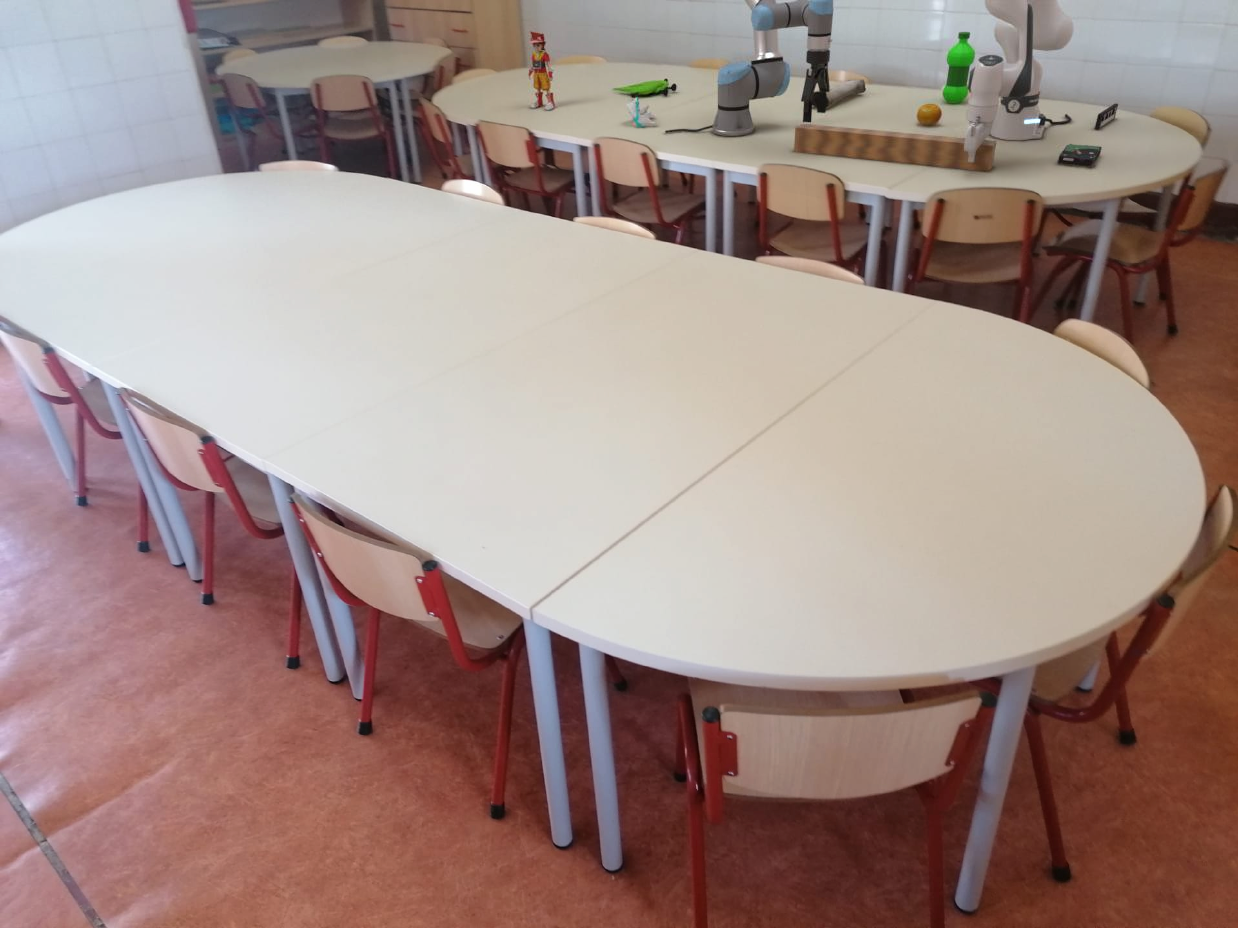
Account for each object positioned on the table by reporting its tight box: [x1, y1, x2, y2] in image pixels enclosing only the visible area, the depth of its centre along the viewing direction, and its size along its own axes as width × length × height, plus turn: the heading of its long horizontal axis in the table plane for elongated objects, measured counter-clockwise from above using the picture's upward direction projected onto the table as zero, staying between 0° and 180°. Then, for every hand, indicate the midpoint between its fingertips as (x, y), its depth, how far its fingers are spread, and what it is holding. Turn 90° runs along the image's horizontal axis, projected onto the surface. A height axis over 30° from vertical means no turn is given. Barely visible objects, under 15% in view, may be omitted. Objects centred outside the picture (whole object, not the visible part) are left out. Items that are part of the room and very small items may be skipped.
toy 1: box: [527, 31, 556, 111], centre depth 374 cm, size 12×9×30 cm
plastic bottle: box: [942, 31, 976, 104], centre depth 348 cm, size 10×10×25 cm
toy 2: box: [612, 78, 677, 99], centre depth 396 cm, size 28×5×30 cm
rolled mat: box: [811, 78, 867, 110], centre depth 364 cm, size 30×9×10 cm
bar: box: [793, 123, 998, 172], centre depth 297 cm, size 65×6×8 cm, turn 59°
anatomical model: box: [625, 97, 657, 128], centre depth 351 cm, size 15×10×10 cm
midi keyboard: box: [1094, 103, 1119, 130], centre depth 318 cm, size 18×1×5 cm, turn 138°
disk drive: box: [1057, 143, 1102, 167], centre depth 287 cm, size 10×3×15 cm
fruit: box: [916, 103, 943, 126], centre depth 329 cm, size 8×8×8 cm
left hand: (814, 117), depth 304 cm, fingers open, 13 cm apart
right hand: (973, 158), depth 286 cm, fingers closed on bar, 5 cm apart
